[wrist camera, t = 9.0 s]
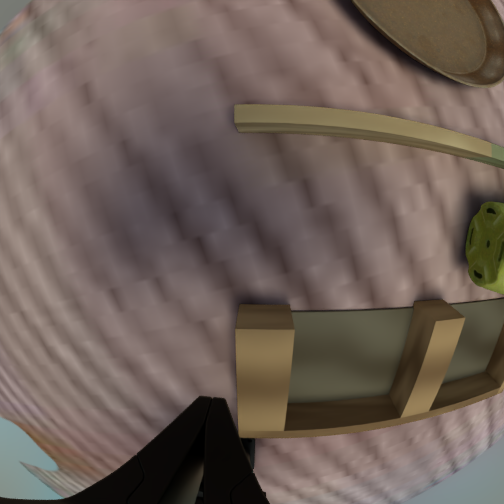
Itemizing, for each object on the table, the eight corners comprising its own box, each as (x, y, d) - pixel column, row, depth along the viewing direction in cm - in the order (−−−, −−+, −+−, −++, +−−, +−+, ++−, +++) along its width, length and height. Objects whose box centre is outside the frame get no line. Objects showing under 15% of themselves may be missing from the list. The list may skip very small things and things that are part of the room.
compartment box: (487, 375, 22) (513, 404, 16) (241, 408, 23) (236, 460, 17) (533, 168, 16) (575, 172, 10) (239, 116, 17) (229, 89, 11)
